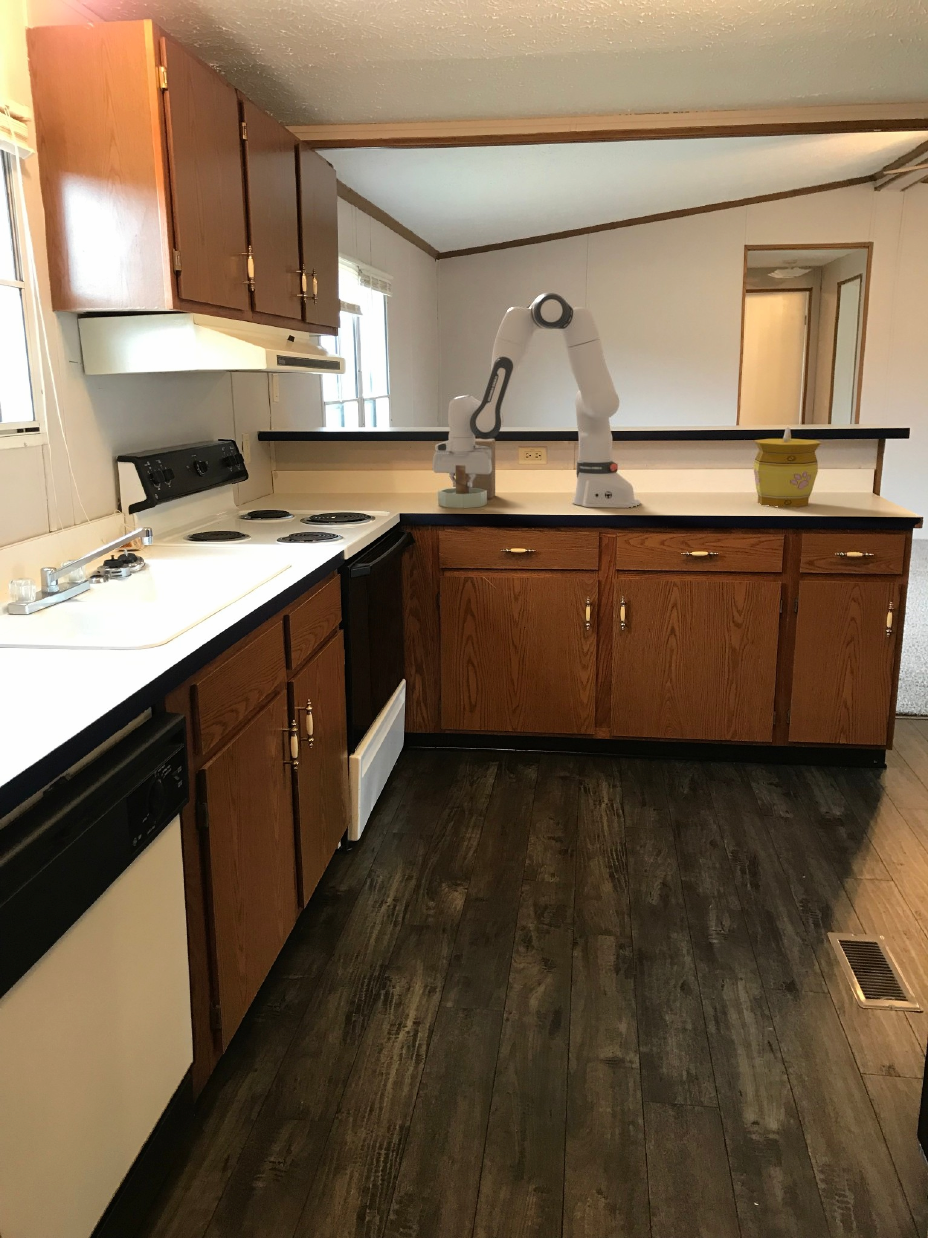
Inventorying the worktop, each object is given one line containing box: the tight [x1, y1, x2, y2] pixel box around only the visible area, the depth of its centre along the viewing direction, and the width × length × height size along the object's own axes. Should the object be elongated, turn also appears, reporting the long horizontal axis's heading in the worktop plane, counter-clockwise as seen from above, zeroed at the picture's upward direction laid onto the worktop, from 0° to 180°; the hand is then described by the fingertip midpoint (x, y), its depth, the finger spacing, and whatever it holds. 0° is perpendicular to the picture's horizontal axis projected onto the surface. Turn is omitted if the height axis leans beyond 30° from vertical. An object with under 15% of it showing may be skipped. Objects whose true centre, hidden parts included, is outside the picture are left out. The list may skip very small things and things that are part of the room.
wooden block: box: [469, 438, 496, 500], centre depth 348 cm, size 10×10×20 cm
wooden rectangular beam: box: [455, 465, 469, 494], centre depth 332 cm, size 4×4×12 cm
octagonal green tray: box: [437, 487, 488, 509], centre depth 334 cm, size 15×15×5 cm
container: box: [752, 427, 822, 509], centre depth 325 cm, size 21×21×25 cm
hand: (462, 486), depth 333 cm, fingers closed on wooden rectangular beam, 3 cm apart
